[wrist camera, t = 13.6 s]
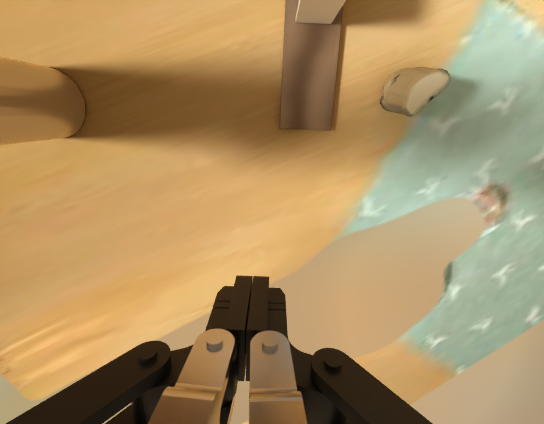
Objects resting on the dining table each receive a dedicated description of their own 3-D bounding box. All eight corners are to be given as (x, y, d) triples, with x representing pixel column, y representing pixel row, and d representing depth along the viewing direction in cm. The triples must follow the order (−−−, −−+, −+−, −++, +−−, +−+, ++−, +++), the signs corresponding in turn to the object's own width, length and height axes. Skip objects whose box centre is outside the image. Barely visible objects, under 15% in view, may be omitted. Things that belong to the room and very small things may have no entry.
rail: (279, 128, 41) (280, 129, 38) (290, -109, 33) (292, -130, 30) (329, 130, 41) (333, 131, 38) (352, -106, 33) (360, -127, 30)
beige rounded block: (407, 119, 40) (438, 121, 33) (371, 113, 40) (393, 112, 33) (421, 75, 39) (457, 65, 31) (383, 67, 38) (410, 56, 31)
